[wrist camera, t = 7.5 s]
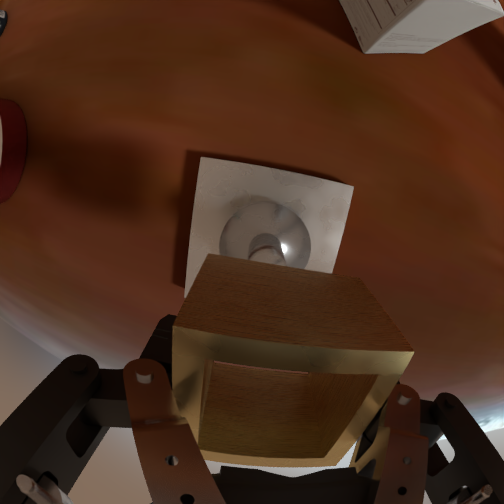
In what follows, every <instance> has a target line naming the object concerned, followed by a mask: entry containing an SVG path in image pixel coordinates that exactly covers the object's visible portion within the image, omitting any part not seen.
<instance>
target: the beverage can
mask: <svg viewBox="0 0 504 504" xmlns="http://www.w3.org/2000/svg"><path fill="white" fill-rule="evenodd" d="M6 23H7V12H6V11H3V10H0V36H1V34H2V33H3V31H4V29H5V26H6Z"/></svg>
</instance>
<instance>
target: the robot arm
mask: <svg viewBox="0 0 504 504" xmlns="http://www.w3.org/2000/svg"><path fill="white" fill-rule="evenodd" d="M176 317H177V316H175V315H170V314H168V315H167V316H165V317H164V318H162V319H161V320H160V321H159V323H158V325H157V326H156V329H155V330H154V332H153V334H152V336H151V337H150V339H149V341H148V343H147V345H146V347H145V348H144V350H143V352H142V354H141V356H140V358H139V359H136V360H133V361H131V362H129V363H128V364H127V365H126V366H125V367H124V369H99V366H98V364H97V362H96V361H95V360H94V359H93V358H91V357H89V356H87V355H81V354H77V355H72V356H69V357H67V358H66V359H64V360H63V361H62V362H61V363H60V364H59V365H58V366H57V367H56V368H55V369H54V370H53V371H52V372H51V373H50V374H49V375H48V376H47V377H46V378H45V379H44V380H43V381H42V382H41V383H40V384H39V385H38V386H37V387H36V388H35V389H34V390H33V391H32V393H31V394H29V396H28V397H27V398H26V399H25V400H24V401H23V402H22V403H21V404H20V405H19V406H18V407H17V408H16V409H15V410H14V412H13V413H12V414H11V415H10V416H9V417H8V418H7V419H6V420H5V421H4V423H3V424H2V425H1V426H0V504H73V502H72V501H71V499H70V498H69V497H68V496H67V495H68V493H69V492H70V490H71V488H72V487H73V485H74V483H75V482H76V480H77V479H78V477H79V475H80V474H81V472H82V470H83V469H84V467H85V466H86V464H87V463H88V461H89V459H90V458H91V456H92V454H93V453H94V451H95V450H96V448H97V447H98V445H99V444H100V442H101V440H102V439H103V437H104V436H105V434H106V433H107V431H108V430H109V428H110V427H122V428H132V431H133V435H134V439H135V444H136V447H137V452H138V456H139V459H140V463H141V467H142V470H143V474H144V477H145V480H146V483H147V486H148V489H149V493H150V495H151V498H152V501H153V502H152V503H150V504H423V499H424V492H425V491H426V492H427V494H428V496H429V499H430V501H431V502H432V504H504V461H503V459H502V458H501V456H500V455H499V453H498V452H497V450H496V449H495V447H494V446H493V444H492V443H491V442H490V440H489V439H488V437H487V436H486V435H485V433H484V432H483V430H482V429H481V428H480V426H479V425H478V424H477V422H476V421H475V420H474V418H473V417H472V416H471V414H470V413H469V412H468V410H467V409H466V408H465V406H464V405H463V404H462V403H461V401H460V400H459V399H458V398H457V397H456V396H454V395H453V394H450V393H440V394H439V395H438V396H437V397H436V399H435V400H434V402H433V401H427V400H421V399H420V397H419V395H418V393H417V392H416V391H415V390H414V389H413V388H411V387H409V386H407V385H403V384H400V382H399V380H398V382H397V384H396V385H395V387H394V388H393V390H392V392H391V393H390V395H389V396H388V398H387V399H386V401H385V402H384V404H383V405H382V407H381V408H380V410H379V411H378V413H377V414H376V415H375V417H374V418H373V420H372V421H371V422H370V424H369V425H368V426H367V428H366V429H365V430H364V432H363V433H362V434H361V436H360V437H359V438H358V439H357V443H356V446H355V450H354V453H353V456H352V459H351V462H350V465H349V467H348V468H337V469H325V470H322V471H318V472H315V473H311V474H307V475H304V476H299V477H286V476H282V475H278V474H274V473H269V472H266V471H262V470H258V469H248V468H237V467H229V466H221V469H220V473H218V474H211V473H210V471H209V469H208V467H207V465H206V463H205V461H204V458H203V456H202V454H201V451H200V449H199V447H198V445H197V442H196V440H195V438H194V435H193V433H192V430H191V428H190V425H189V423H188V421H187V419H186V418H185V417H182V416H181V414H180V412H179V409H178V406H177V403H176V400H175V397H174V395H173V392H172V331H173V324H174V322H175V319H176ZM443 434H444V435H445V436H446V438H447V440H448V441H449V443H450V444H451V446H452V447H453V449H454V451H455V456H454V459H453V461H451V462H450V463H449V462H448V461H447V460H446V458H445V456H444V454H443V452H442V451H441V449H440V448H439V446H438V444H437V443H436V442H437V441H438V440H439V438H440V437H441V436H442V435H443Z"/></svg>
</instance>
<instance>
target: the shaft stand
mask: <svg viewBox="0 0 504 504" xmlns="http://www.w3.org/2000/svg"><path fill="white" fill-rule="evenodd" d="M353 189H354V186H350V185H347V184H343V183H339V182H335V181H331V180H327V179H323V178H318V177H314V176H309V175H305V174H300V173H295V172H291V171H286V170H281V169H275V168H270V167H265V166H259V165H253V164H248V163H242V162H235V161H229V160H222V159H215V158H208V157H201V159H200V166H199V172H198V179H197V186H196V193H195V200H194V208H193V216H192V224H191V233H190V242H189V251H188V261H187V272H186V283H185V296H184V298H186V297H187V295H188V292H189V290H190V288H191V286H192V284H193V282H194V280H195V278H196V276H197V274H198V272H199V270H200V268H201V266H202V264H203V262H204V260H205V258H206V256H207V254H208V253H210V254H216V255H222V256H228V257H234V258H240V259H246V260H252V261H258V262H264V263H270V264H276V265H282V266H288V267H294V268H300V269H306V270H313V271H319V272H325V273H331V274H332V271H333V267H334V264H335V260H336V257H337V253H338V249H339V246H340V242H341V238H342V234H343V231H344V227H345V223H346V219H347V215H348V210H349V206H350V202H351V198H352V193H353Z"/></svg>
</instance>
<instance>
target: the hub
mask: <svg viewBox="0 0 504 504" xmlns="http://www.w3.org/2000/svg"><path fill="white" fill-rule="evenodd" d="M414 352H415V351H414V350H413V348H412V347H411V346H410V344H409V343H408V341H407V340H406V339H405V337H404V336H403V334H402V333H401V332H400V330H399V329H398V328H397V326H396V325H395V323H394V322H393V321H392V319H391V318H390V317H389V315H388V314H387V313H386V311H385V310H384V309H383V307H382V306H381V305H380V303H379V302H378V301H377V300H376V298H375V297H374V296H373V294H372V293H371V292H370V290H369V289H368V288H367V287H366V285H365V284H364V283H363V282H362V280H361V279H360V278H357V277H350V276H344V275H338V274H331V273H325V272H319V271H313V270H306V269H300V268H294V267H288V266H282V265H276V264H270V263H264V262H258V261H252V260H246V259H240V258H234V257H228V256H222V255H216V254H210V253H208V254H207V256H206V258H205V260H204V262H203V264H202V266H201V268H200V270H199V272H198V274H197V276H196V278H195V280H194V282H193V284H192V286H191V288H190V290H189V292H188V295H187V297H186V299H185V301H184V303H183V305H182V307H181V309H180V311H179V313H178V315H177V317H176V319H175V322H174V324H173V331H172V392H173V395H174V397H175V400H176V403H177V406H178V409H179V412H180V414H181V416H182V417H185V418H186V419H187V421H188V423H189V425H190V428H191V430H192V433H193V435H194V438H195V440H196V442H197V445H198V447H199V449H200V451H201V454H202V456H203V458H204V460H210V461H216V462H223V463H231V464H241V465H252V466H268V467H322V466H336V465H337V463H338V462H339V461H340V460H341V459H342V457H343V456H344V455H345V454H346V453H347V452H348V451H349V449H350V448H351V447H352V446H353V444H354V443H355V442H356V441H357V439H358V438H359V437H360V436H361V434H362V433H363V432H364V430H365V429H366V428H367V426H368V425H369V424H370V422H371V421H372V420H373V418H374V417H375V415H376V414H377V413H378V411H379V410H380V408H381V407H382V405H383V404H384V402H385V401H386V399H387V398H388V396H389V395H390V393H391V392H392V390H393V388H394V387H395V385H396V384H397V382H398V380H399V379H400V377H401V375H402V374H403V372H404V370H405V368H406V367H407V365H408V363H409V361H410V359H411V358H412V356H413V354H414ZM214 360H215V361H221V362H227V363H233V364H240V365H247V366H254V367H262V368H271V369H280V370H290V371H302V372H308V374H302V373H290V372H279V371H270V370H262V369H254V368H246V367H239V366H232V365H226V364H220V363H214Z"/></svg>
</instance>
